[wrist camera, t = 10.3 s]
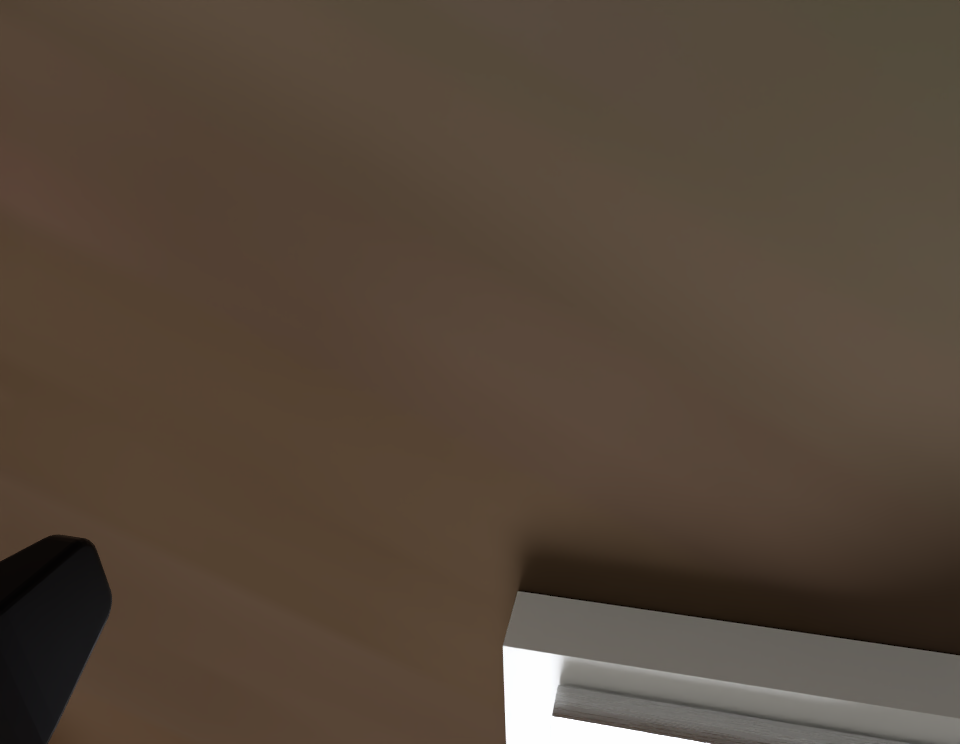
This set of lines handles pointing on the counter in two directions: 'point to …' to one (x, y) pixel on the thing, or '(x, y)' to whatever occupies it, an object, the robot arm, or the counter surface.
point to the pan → (673, 724)
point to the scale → (722, 671)
